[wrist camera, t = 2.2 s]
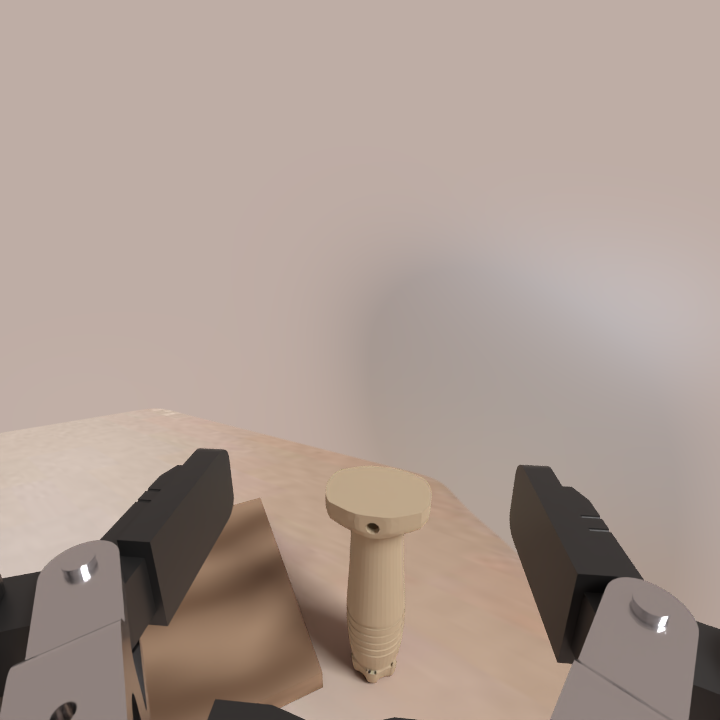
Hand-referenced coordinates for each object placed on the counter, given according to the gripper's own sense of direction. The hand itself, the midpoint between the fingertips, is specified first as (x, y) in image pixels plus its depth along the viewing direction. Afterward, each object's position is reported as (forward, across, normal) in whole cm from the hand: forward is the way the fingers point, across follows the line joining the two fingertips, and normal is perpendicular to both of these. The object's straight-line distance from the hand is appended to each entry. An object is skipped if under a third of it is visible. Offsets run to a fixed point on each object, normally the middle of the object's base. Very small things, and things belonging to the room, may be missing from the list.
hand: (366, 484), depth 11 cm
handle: (+11, 0, +24) cm, 26 cm away
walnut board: (+14, +16, +23) cm, 31 cm away
